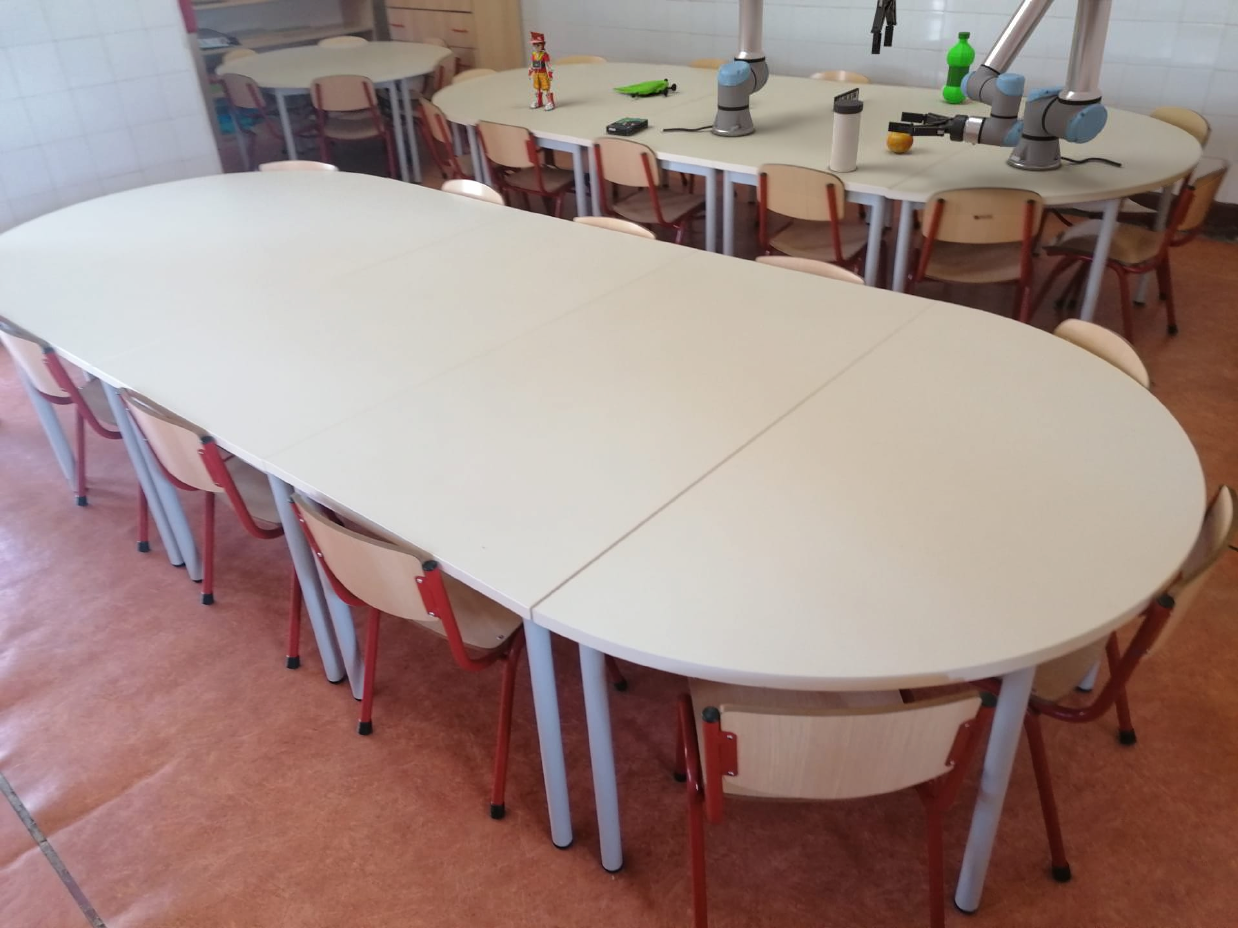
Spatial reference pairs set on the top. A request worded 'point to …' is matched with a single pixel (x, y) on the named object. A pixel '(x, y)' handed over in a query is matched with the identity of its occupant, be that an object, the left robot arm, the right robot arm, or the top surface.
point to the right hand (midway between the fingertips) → (895, 121)
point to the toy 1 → (541, 71)
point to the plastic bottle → (958, 68)
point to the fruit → (899, 142)
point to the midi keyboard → (848, 95)
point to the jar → (845, 142)
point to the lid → (848, 106)
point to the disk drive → (627, 126)
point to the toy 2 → (648, 88)
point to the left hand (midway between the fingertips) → (881, 50)
